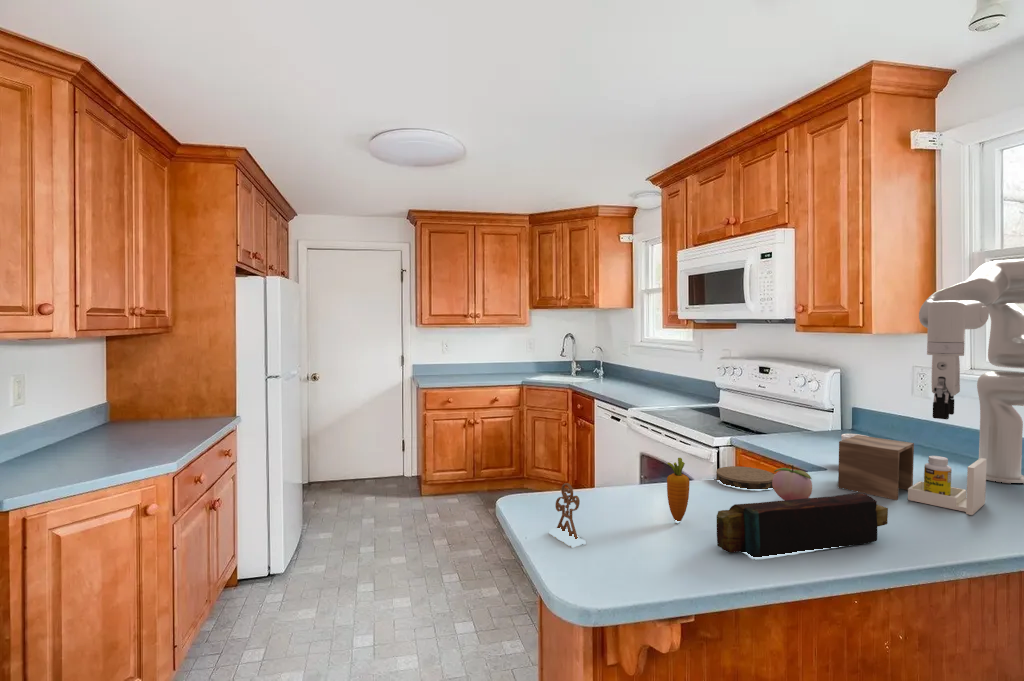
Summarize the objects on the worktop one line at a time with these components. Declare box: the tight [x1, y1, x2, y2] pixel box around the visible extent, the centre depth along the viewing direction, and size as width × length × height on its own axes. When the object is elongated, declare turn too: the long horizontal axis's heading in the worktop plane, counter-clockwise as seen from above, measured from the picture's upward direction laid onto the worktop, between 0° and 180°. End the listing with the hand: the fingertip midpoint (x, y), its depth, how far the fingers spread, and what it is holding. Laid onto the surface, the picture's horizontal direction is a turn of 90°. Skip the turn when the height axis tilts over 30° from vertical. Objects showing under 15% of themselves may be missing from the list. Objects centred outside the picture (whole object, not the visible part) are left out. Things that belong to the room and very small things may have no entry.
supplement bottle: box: [923, 455, 952, 496], centre depth 144 cm, size 6×6×10 cm
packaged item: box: [716, 492, 889, 557], centre depth 117 cm, size 39×10×10 cm, turn 105°
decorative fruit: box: [772, 465, 813, 501], centre depth 142 cm, size 9×8×10 cm
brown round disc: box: [715, 465, 775, 489], centre depth 161 cm, size 16×16×3 cm
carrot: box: [666, 457, 690, 522], centre depth 128 cm, size 5×5×15 cm
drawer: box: [907, 458, 987, 516], centre depth 143 cm, size 14×14×11 cm
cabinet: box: [837, 434, 915, 501], centre depth 155 cm, size 14×14×13 cm
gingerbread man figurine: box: [555, 482, 581, 539], centre depth 119 cm, size 9×4×12 cm, turn 29°
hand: (943, 416), depth 143 cm, fingers open, 9 cm apart
